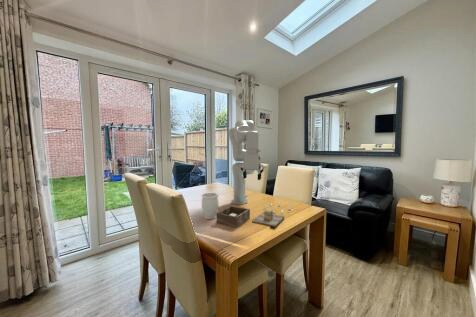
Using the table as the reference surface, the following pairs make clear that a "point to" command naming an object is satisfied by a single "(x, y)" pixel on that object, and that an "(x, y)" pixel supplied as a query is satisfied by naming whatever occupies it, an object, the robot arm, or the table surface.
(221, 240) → the table surface
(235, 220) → the box
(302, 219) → the table surface
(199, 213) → the table surface
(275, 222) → the lid
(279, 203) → the game piece set
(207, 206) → the jar
